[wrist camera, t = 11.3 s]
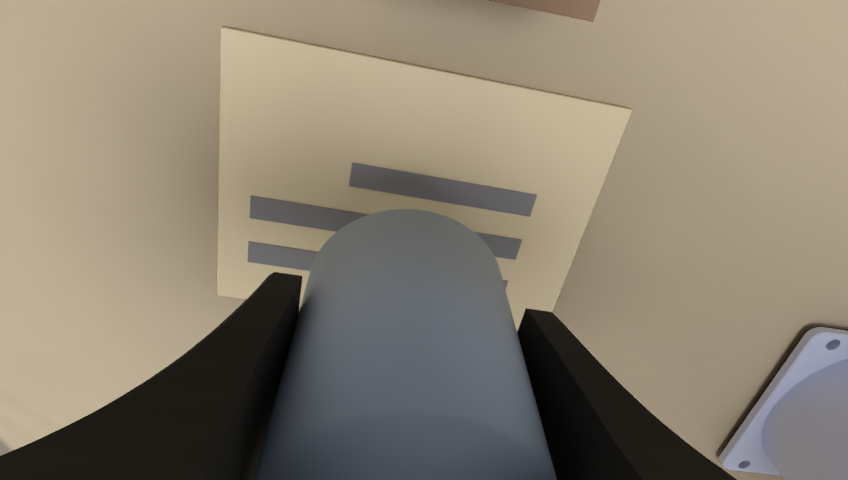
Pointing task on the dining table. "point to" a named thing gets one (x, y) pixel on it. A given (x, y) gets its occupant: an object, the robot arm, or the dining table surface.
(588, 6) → the walnut block
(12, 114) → the dining table surface
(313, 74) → the letter
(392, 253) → the slate cylinder
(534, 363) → the robot arm
